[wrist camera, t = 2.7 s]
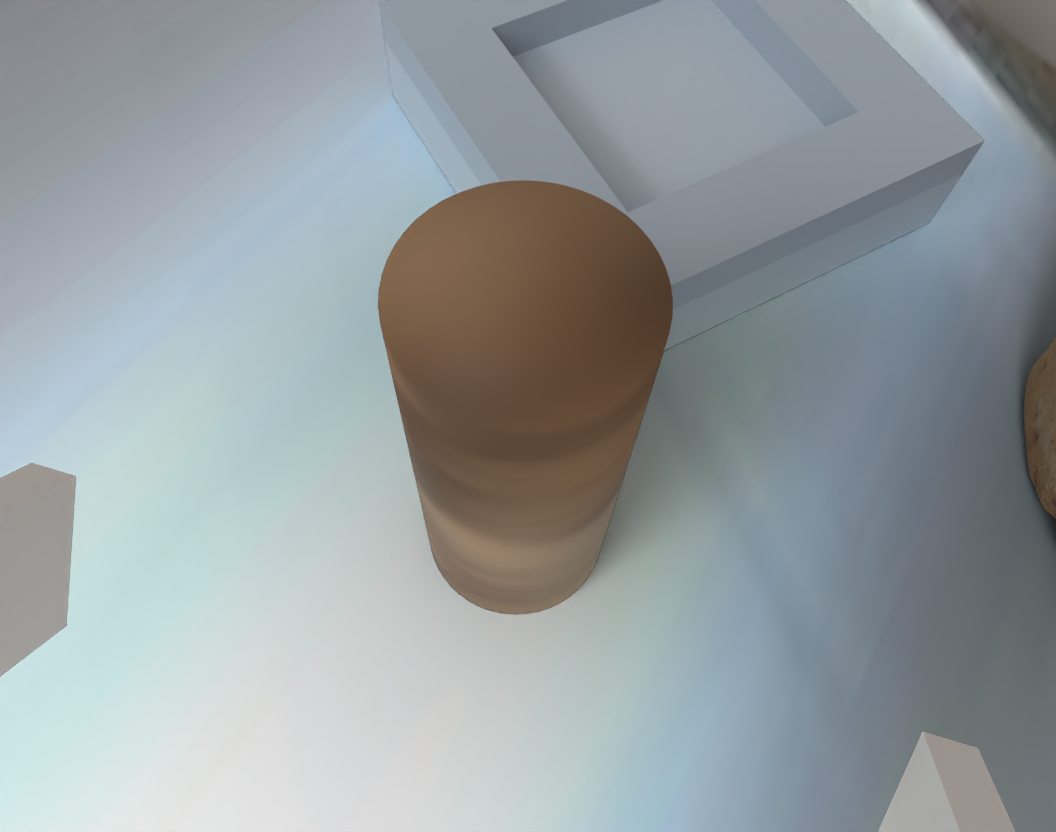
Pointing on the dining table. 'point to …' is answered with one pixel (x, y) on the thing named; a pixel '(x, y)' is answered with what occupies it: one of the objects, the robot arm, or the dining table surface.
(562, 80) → the slab
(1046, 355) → the block
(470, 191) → the post
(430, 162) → the dining table surface
